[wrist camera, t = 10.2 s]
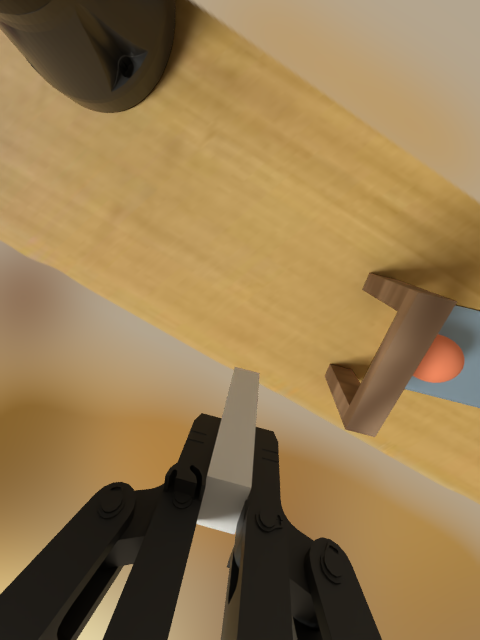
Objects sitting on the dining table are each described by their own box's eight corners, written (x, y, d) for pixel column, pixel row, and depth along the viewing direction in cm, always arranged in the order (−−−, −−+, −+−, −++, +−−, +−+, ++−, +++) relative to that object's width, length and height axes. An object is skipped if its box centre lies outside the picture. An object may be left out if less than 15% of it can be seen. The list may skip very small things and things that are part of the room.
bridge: (324, 376, 31) (345, 429, 23) (369, 272, 26) (418, 292, 18) (346, 381, 31) (374, 437, 23) (395, 279, 26) (457, 301, 17)
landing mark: (446, 303, 26) (447, 303, 26) (552, 328, 26) (554, 329, 26) (397, 386, 31) (398, 387, 30) (487, 409, 30) (488, 410, 30)
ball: (455, 347, 22) (489, 353, 23) (405, 322, 26) (436, 328, 28) (423, 392, 24) (456, 394, 25) (381, 361, 28) (412, 364, 30)
